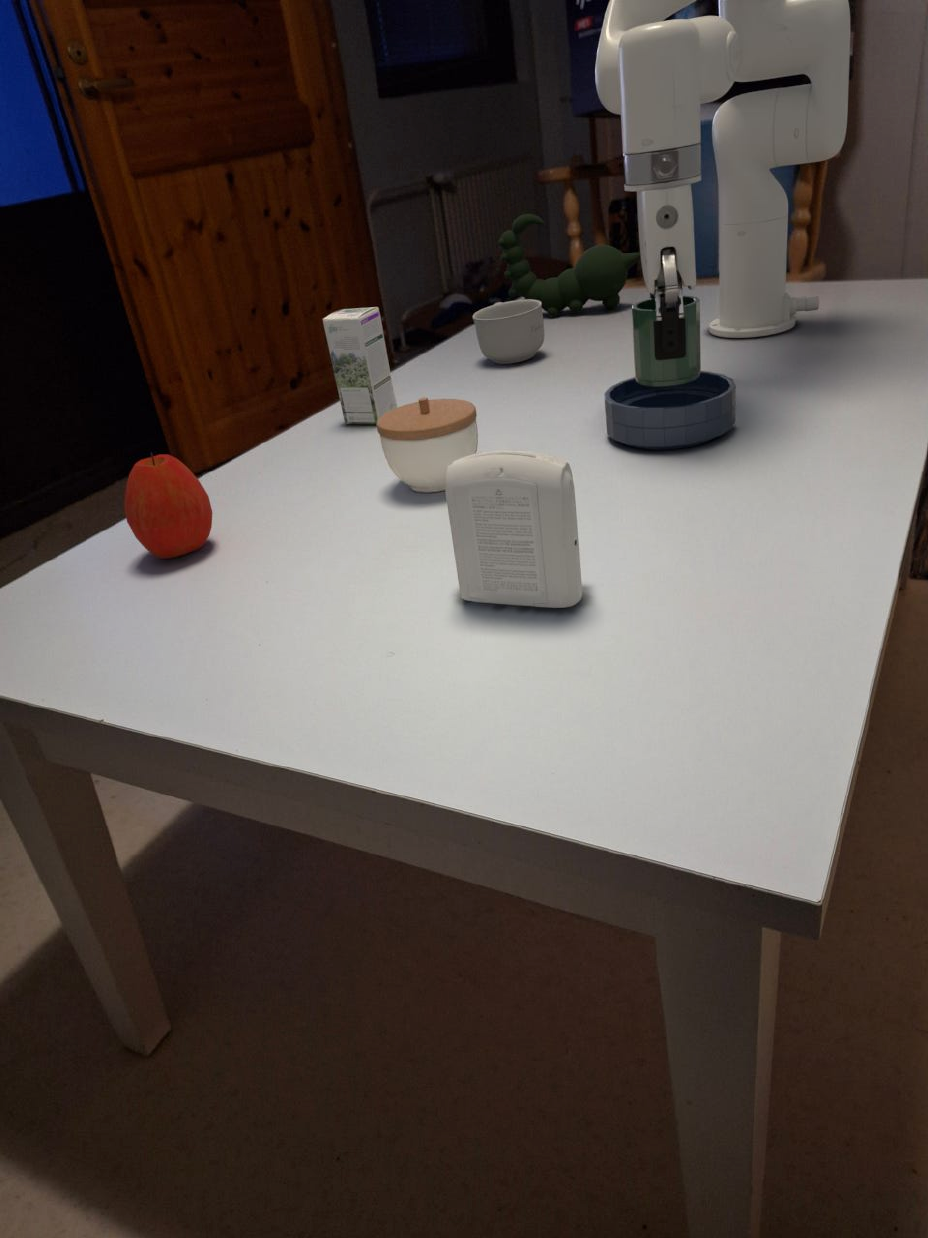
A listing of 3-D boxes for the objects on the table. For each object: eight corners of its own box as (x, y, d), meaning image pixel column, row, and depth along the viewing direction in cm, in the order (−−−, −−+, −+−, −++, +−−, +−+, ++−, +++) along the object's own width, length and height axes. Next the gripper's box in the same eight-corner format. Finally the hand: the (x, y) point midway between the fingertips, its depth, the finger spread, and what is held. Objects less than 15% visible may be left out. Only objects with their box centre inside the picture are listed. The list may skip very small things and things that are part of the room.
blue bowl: (725, 406, 107) (725, 364, 105) (744, 446, 95) (744, 400, 93) (605, 418, 110) (603, 378, 107) (609, 459, 98) (606, 414, 95)
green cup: (696, 365, 102) (695, 292, 98) (703, 382, 96) (703, 305, 92) (633, 372, 103) (630, 300, 99) (637, 389, 97) (633, 313, 93)
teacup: (548, 362, 137) (543, 308, 133) (478, 372, 138) (471, 319, 134) (543, 342, 149) (538, 292, 145) (479, 351, 150) (472, 301, 146)
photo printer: (589, 587, 73) (577, 441, 67) (575, 613, 70) (562, 462, 64) (473, 581, 77) (451, 443, 71) (454, 605, 74) (430, 462, 68)
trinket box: (497, 463, 102) (486, 381, 97) (466, 501, 93) (453, 413, 88) (410, 465, 105) (396, 385, 101) (373, 501, 97) (356, 416, 92)
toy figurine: (511, 333, 166) (647, 307, 158) (489, 224, 158) (632, 191, 150) (521, 321, 174) (651, 296, 166) (500, 217, 165) (637, 185, 157)
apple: (178, 574, 87) (143, 470, 82) (124, 564, 91) (87, 464, 86) (238, 539, 93) (209, 440, 88) (184, 530, 97) (153, 435, 92)
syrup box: (399, 411, 125) (380, 304, 118) (378, 425, 121) (357, 315, 114) (364, 411, 128) (344, 306, 121) (343, 425, 123) (320, 317, 116)
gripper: (711, 169, 81) (712, 365, 90) (691, 158, 96) (693, 327, 105) (627, 181, 82) (636, 374, 91) (620, 169, 97) (628, 335, 106)
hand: (667, 348), depth 98 cm, fingers closed on green cup, 7 cm apart
